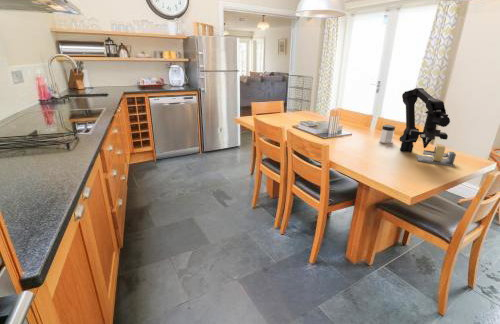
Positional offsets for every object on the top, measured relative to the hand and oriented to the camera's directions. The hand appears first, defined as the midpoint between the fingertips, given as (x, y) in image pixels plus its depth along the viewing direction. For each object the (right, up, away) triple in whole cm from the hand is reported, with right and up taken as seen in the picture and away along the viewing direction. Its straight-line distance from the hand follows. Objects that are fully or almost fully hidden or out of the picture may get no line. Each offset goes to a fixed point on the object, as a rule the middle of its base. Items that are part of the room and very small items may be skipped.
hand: (424, 147), depth 165 cm
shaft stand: (+5, -8, 0) cm, 10 cm away
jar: (-5, +6, +37) cm, 37 cm away
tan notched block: (+7, -7, -1) cm, 10 cm away
